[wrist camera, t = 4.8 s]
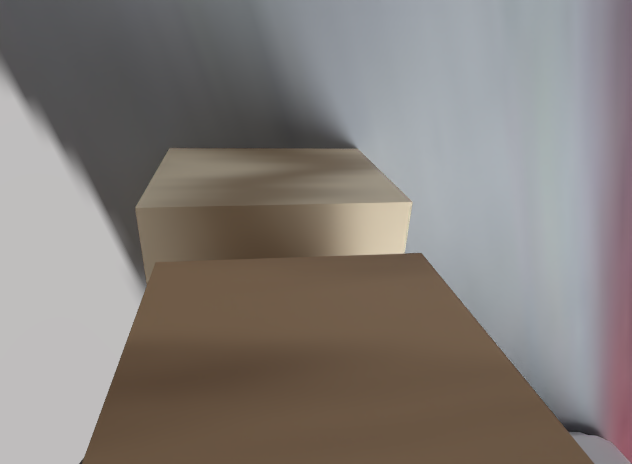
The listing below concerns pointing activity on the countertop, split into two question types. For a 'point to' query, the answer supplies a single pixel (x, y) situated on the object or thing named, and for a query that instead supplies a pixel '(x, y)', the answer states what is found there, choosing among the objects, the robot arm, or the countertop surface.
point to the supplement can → (599, 449)
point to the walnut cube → (317, 371)
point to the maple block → (269, 206)
